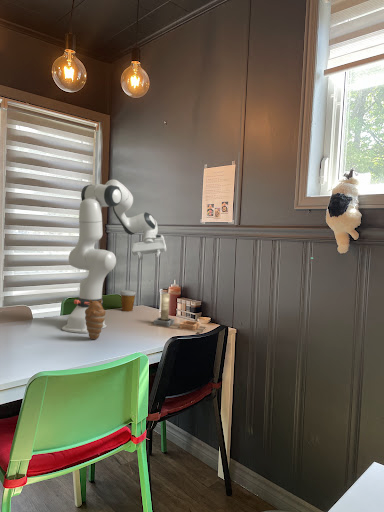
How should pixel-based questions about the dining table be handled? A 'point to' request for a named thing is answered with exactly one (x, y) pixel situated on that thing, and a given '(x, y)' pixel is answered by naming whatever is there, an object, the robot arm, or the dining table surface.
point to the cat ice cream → (94, 318)
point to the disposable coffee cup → (127, 300)
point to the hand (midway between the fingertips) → (148, 258)
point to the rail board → (179, 325)
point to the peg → (165, 307)
